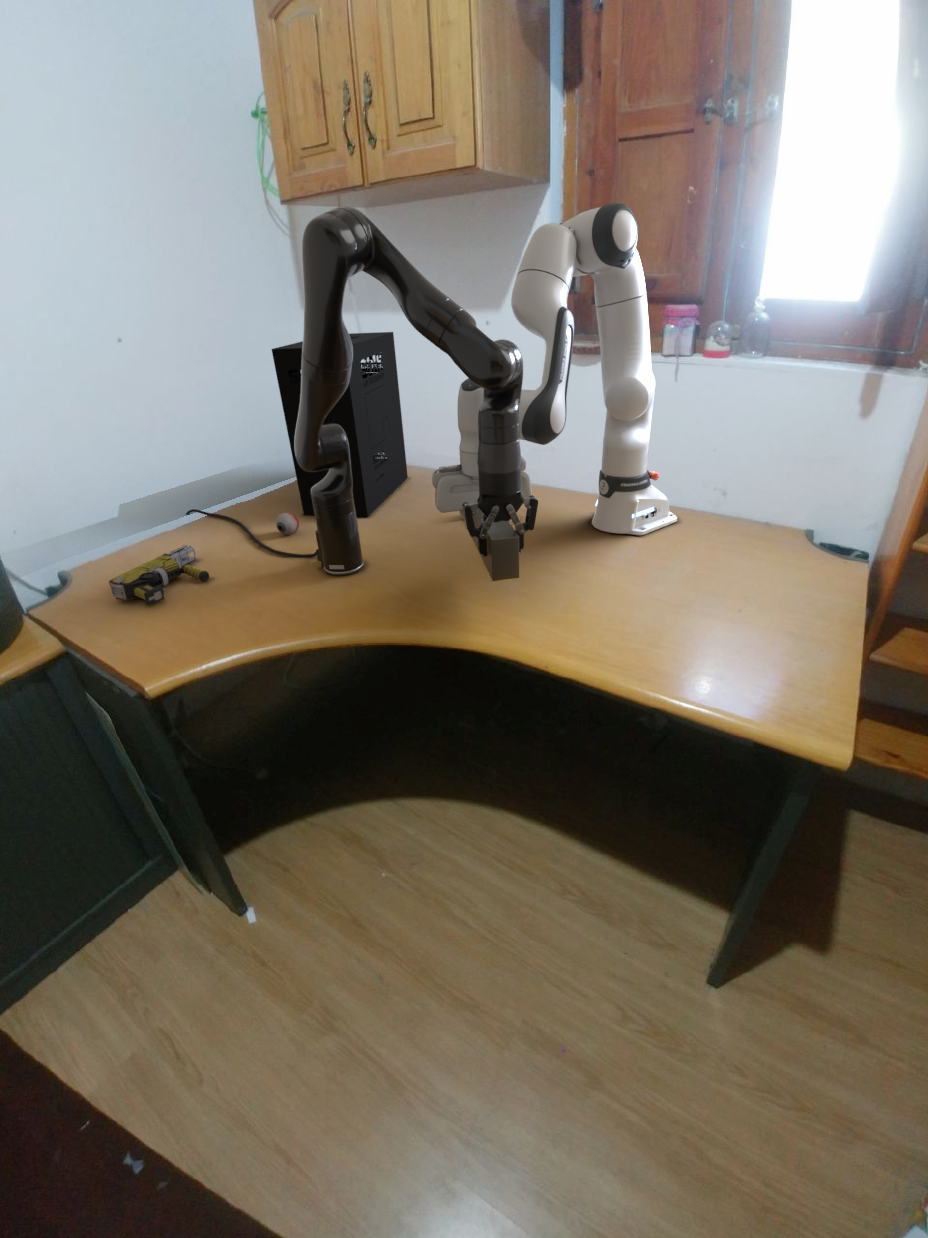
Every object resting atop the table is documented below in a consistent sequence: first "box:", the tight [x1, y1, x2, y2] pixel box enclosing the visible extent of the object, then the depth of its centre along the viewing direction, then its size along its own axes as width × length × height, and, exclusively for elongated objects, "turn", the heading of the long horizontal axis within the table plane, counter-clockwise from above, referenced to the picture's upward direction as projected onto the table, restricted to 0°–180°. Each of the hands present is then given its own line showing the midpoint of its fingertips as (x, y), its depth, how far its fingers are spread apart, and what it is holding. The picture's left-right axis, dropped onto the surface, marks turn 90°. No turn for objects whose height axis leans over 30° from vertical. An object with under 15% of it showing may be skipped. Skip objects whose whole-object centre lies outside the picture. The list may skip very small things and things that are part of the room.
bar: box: [470, 508, 520, 582], centre depth 122 cm, size 24×5×8 cm, turn 10°
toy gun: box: [108, 544, 210, 607], centre depth 141 cm, size 5×24×15 cm
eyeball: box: [275, 511, 300, 536], centre depth 163 cm, size 6×6×6 cm
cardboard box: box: [271, 331, 409, 518], centre depth 180 cm, size 38×20×45 cm, turn 167°
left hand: (501, 552), depth 114 cm, fingers open, 6 cm apart
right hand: (484, 526), depth 129 cm, fingers closed on bar, 5 cm apart
